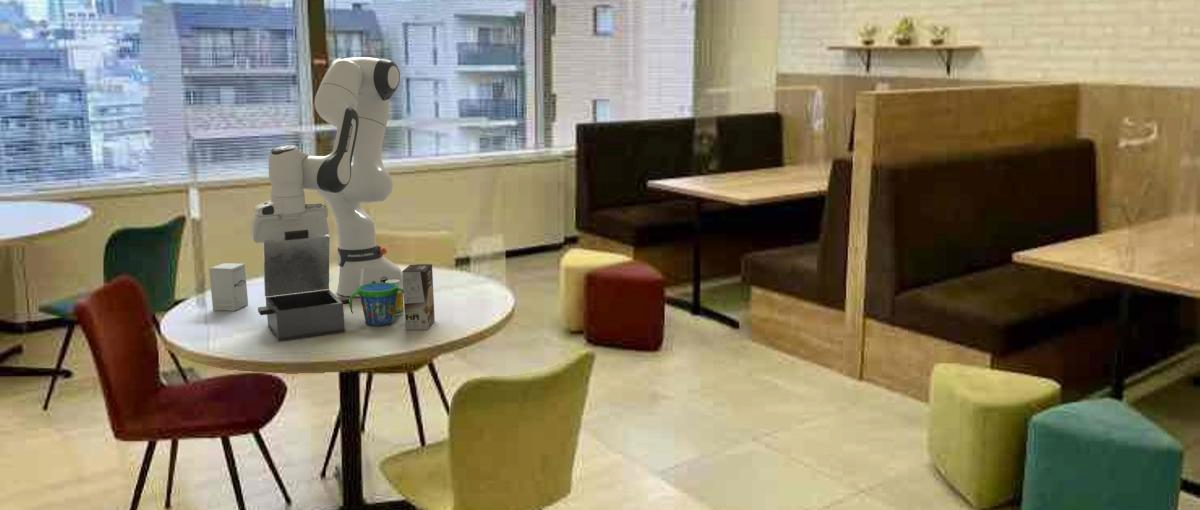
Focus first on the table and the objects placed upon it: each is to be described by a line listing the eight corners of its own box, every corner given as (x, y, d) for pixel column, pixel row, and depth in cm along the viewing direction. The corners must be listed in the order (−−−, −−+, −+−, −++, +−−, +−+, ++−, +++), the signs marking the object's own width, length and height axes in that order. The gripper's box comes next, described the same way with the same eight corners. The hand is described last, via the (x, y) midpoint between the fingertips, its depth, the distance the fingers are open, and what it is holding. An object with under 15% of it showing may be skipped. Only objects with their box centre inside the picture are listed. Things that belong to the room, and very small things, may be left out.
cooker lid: (329, 289, 273) (328, 286, 273) (329, 229, 263) (328, 227, 264) (265, 296, 265) (264, 294, 266) (263, 236, 256) (262, 233, 256)
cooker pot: (341, 315, 276) (339, 288, 274) (356, 330, 261) (354, 301, 259) (256, 327, 265) (254, 298, 264) (266, 343, 251) (263, 313, 249)
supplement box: (235, 311, 282) (231, 268, 279) (212, 310, 283) (207, 268, 281) (249, 305, 289) (245, 263, 286) (226, 304, 290) (222, 262, 288)
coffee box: (428, 330, 260) (425, 271, 257) (404, 330, 261) (401, 271, 257) (435, 320, 269) (432, 263, 266) (412, 320, 270) (409, 263, 266)
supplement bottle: (382, 312, 278) (380, 280, 276) (401, 310, 280) (399, 277, 278) (387, 317, 273) (385, 284, 271) (406, 314, 276) (404, 281, 274)
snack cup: (408, 315, 275) (406, 280, 273) (409, 325, 265) (407, 289, 263) (350, 319, 271) (348, 284, 269) (350, 330, 261) (347, 293, 259)
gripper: (324, 201, 274) (328, 249, 277) (248, 207, 265) (252, 257, 268) (329, 204, 268) (332, 253, 271) (251, 210, 259) (255, 261, 262)
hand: (292, 255), depth 269 cm, fingers closed
